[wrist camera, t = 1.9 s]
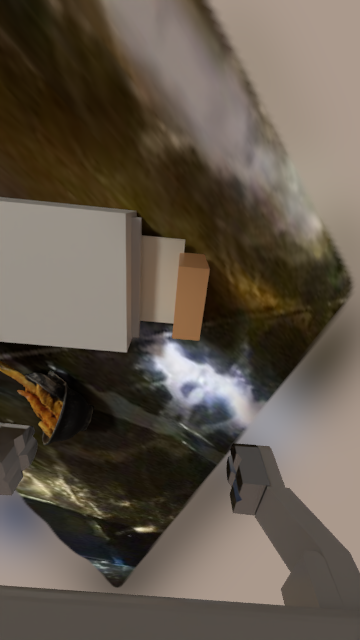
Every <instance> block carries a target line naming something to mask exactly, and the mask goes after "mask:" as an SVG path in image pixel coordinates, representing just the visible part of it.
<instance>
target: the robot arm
mask: <svg viewBox="0 0 360 640" xmlns="http://www.w3.org/2000/svg"><path fill="white" fill-rule="evenodd" d="M34 433H35V431H34V428H33V426H25V425H16V424H7V423H0V495H12V494H13V492H14V491H15V489H16V487H17V486H18V484H19V482H20V481H21V479H22V478H23V473H22V471H23V470H24V469H26V468H27V467H28V466H30V464H31V462H32V461H33V459H34V457H35V454H36V451H37V440H36V439H35V438H34V437H33V434H34ZM230 450H231V456H229V457H228V460H227V478H228V483H229V484H230V485H231V487H232V489H231V492H230V498H231V504H232V510H233V513H238V514H247V515H255V518H256V519H257V521H258V522H259V524H260V526H261V527H262V528H263V530H264V532H265V533H266V535H267V536H268V538H269V539H270V541H271V542H272V544H273V546H274V547H275V549H276V550H277V552H278V553H279V555H280V556H281V558H282V559H283V561H284V563H285V564H286V566H287V567H288V569H289V570H290V572H291V573H290V575H289V577H288V578H287V580H286V582H285V583H284V585H283V587H282V588H281V591H282V596H283V600H284V604H285V606H283V605H269V604H255V603H241V602H226V601H213V600H198V599H185V598H170V597H157V596H143V595H128V594H113V593H100V592H86V591H72V590H57V589H43V588H29V587H16V586H2V585H0V640H360V573H359V570H358V568H357V566H356V564H355V562H354V560H353V558H352V556H351V554H350V552H349V551H348V550H347V549H346V548H345V547H344V546H343V545H342V544H341V543H340V542H339V541H338V540H337V539H336V537H335V536H334V535H333V534H332V533H331V532H330V531H329V530H328V529H327V528H326V527H325V526H324V525H323V524H322V522H321V521H320V520H319V519H318V518H317V517H316V516H315V515H314V514H313V513H312V512H311V511H310V510H309V509H308V508H307V507H306V505H305V504H304V503H303V502H302V501H301V500H300V499H299V498H298V497H297V496H296V495H295V494H294V493H293V492H292V491H291V489H290V488H285V485H284V482H283V480H282V477H281V474H280V471H279V469H278V466H277V463H276V461H275V458H274V455H273V453H272V450H271V448H270V447H269V446H256V445H248V444H234V443H233V444H232V446H231V449H230Z"/></svg>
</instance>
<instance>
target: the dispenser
mask: <svg viewBox="0 0 360 640" xmlns="http://www.w3.org/2000/svg"><path fill="white" fill-rule="evenodd" d="M141 244H142V218H141V217H137V211H133V210H123V209H113V208H103V207H93V206H83V205H73V204H63V203H53V202H43V201H33V200H23V199H13V198H3V197H0V342H11V343H22V344H34V345H46V346H57V347H69V348H81V349H92V350H104V351H116V352H127V351H128V348H129V345H130V343H131V340H132V337H135V338H139V336H140V297H141Z"/></svg>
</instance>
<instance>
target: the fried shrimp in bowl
mask: <svg viewBox="0 0 360 640" xmlns="http://www.w3.org/2000/svg"><path fill="white" fill-rule="evenodd" d="M0 371H1V372H3V373H5V374H6V375H8V376H10V377H12V378H13V379H15V380H17V381H18V382H20V383H21V384H23V386H24V387H25V388H26V391H22V390H17V391H18V392H19V393H20V394H21V395H23V396H25V397H26V398H27V400H28V401H29V402H30V404H31V406H32V408H33V410H34V412H35V413H36V415H37V416H38V417H39V418H40V419H41V420H42V421H41V422H39V426H40V427H41V429H42V430H43V437H42V439H43V444H44V445H48V444H50V443H51V442H54V441H63V440H67V439H69V438H71V437H73V436H74V435H75V434H77V433H78V432H79V431H85V430H86V429H87V427H88V425H89V423H90V421H91V416H92V413H93V409H94V406H92V405H89V404H88V403H87V402H86V401H85V399H84V398H83V396H82V395H81V394H80V393H78V392H76V391H74V390H72V389H69V387H68V385H67V383H66V382H65V381H64V380H63V379H61V378H60V377H59V376H57V375H56V374H55V373H53V372H51V371H50V372H49V373H48V374H47V375H44V374H42V373H30V374H25V375H22V374H21V373H19V372H18V371H16V370H14V369H13V368H11V367H10V366H9V365H7V364H5V363H3V362H1V361H0Z"/></svg>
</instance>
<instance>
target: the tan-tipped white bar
mask: <svg viewBox="0 0 360 640" xmlns="http://www.w3.org/2000/svg"><path fill="white" fill-rule="evenodd" d="M184 248H185V239H175V238H165V237H155V236H145V235H142V244H141V297H140V321H150V322H161V323H172V324H173V335H172V338H174V339H186V340H197V341H199V339H200V333H201V326H202V319H203V312H204V306H205V299H206V292H207V285H208V279H209V272H210V268H209V265H208V263H207V260H206V257H205V254H196V253H186V252H184Z"/></svg>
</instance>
